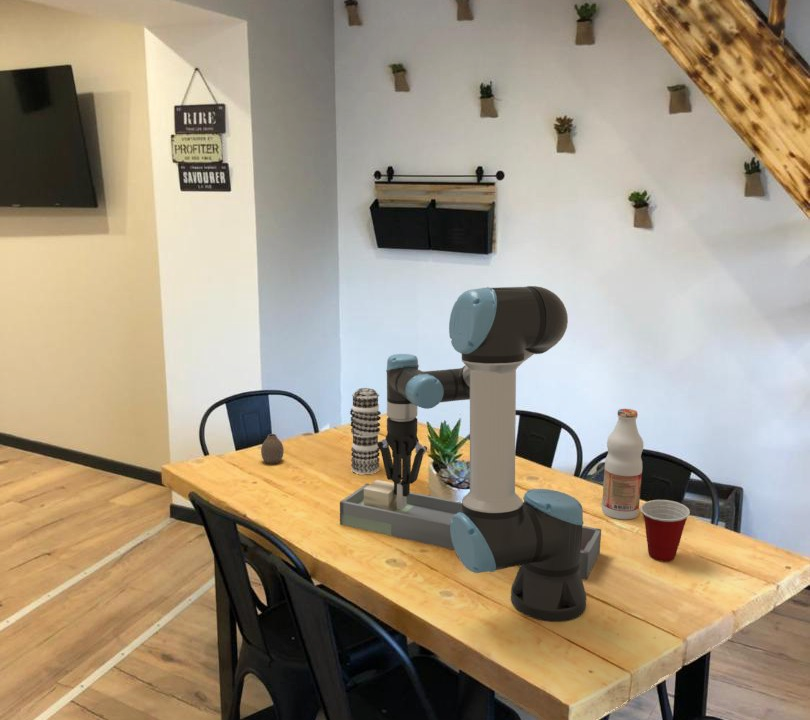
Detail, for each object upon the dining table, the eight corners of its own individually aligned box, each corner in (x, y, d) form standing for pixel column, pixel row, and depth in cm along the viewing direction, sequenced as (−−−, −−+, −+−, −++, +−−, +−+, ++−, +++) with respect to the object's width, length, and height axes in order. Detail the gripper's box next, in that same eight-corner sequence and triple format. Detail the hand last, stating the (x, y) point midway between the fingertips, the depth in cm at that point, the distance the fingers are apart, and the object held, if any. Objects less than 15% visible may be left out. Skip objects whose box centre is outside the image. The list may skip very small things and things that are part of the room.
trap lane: (586, 579, 163) (588, 554, 162) (339, 524, 189) (339, 501, 188) (599, 553, 175) (601, 529, 174) (366, 504, 201) (366, 483, 200)
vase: (260, 459, 235) (259, 432, 234) (282, 457, 238) (281, 430, 236) (262, 466, 229) (262, 439, 227) (285, 464, 231) (284, 437, 229)
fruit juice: (594, 509, 200) (601, 408, 194) (621, 503, 204) (628, 404, 198) (618, 522, 192) (626, 417, 186) (646, 516, 196) (655, 413, 190)
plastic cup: (626, 549, 177) (630, 502, 175) (663, 543, 181) (668, 496, 178) (656, 570, 167) (661, 520, 165) (695, 563, 171) (700, 513, 169)
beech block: (388, 516, 187) (388, 493, 186) (363, 511, 190) (363, 488, 189) (400, 506, 193) (400, 484, 192) (376, 501, 196) (376, 479, 195)
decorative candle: (346, 473, 224) (345, 392, 219) (355, 463, 233) (355, 385, 227) (375, 476, 222) (375, 395, 217) (383, 466, 231) (384, 387, 225)
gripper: (432, 416, 184) (431, 506, 189) (385, 410, 190) (385, 497, 195) (419, 424, 178) (418, 517, 183) (371, 417, 183) (372, 508, 188)
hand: (401, 507), depth 189 cm, fingers closed
